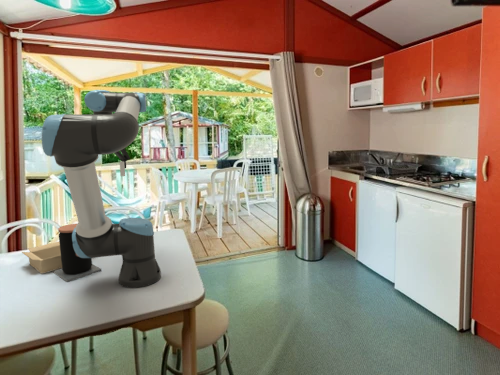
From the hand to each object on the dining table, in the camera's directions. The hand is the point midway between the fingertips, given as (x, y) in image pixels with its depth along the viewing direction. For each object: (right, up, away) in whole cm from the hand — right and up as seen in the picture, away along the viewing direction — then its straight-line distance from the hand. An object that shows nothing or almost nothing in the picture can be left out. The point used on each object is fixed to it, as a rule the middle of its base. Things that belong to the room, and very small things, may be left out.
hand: (108, 177), depth 140 cm
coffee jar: (-8, -38, -10) cm, 40 cm away
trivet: (-8, -39, -10) cm, 41 cm away
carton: (-21, -37, +1) cm, 43 cm away
